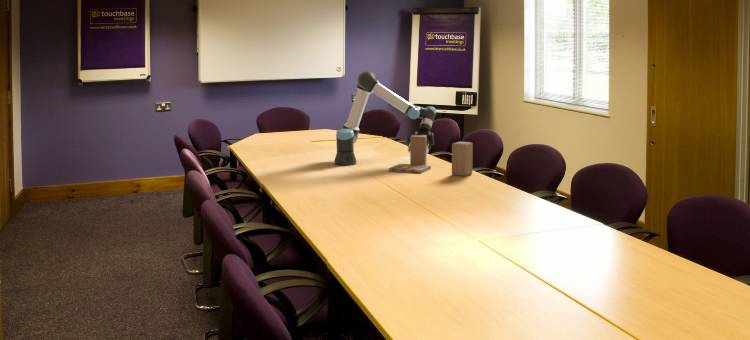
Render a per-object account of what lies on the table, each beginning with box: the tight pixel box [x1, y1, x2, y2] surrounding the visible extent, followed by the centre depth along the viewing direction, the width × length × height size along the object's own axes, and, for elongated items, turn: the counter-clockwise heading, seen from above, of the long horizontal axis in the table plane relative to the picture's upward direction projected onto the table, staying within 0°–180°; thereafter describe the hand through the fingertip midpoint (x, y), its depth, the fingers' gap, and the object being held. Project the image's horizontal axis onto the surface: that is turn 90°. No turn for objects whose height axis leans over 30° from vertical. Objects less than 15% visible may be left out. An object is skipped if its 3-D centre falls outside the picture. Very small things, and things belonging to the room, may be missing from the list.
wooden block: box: [409, 134, 428, 165], centre depth 468 cm, size 10×10×20 cm
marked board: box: [388, 163, 432, 174], centre depth 455 cm, size 22×18×2 cm
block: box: [451, 141, 474, 177], centre depth 436 cm, size 10×10×20 cm
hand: (417, 151), depth 466 cm, fingers closed on wooden block, 12 cm apart
